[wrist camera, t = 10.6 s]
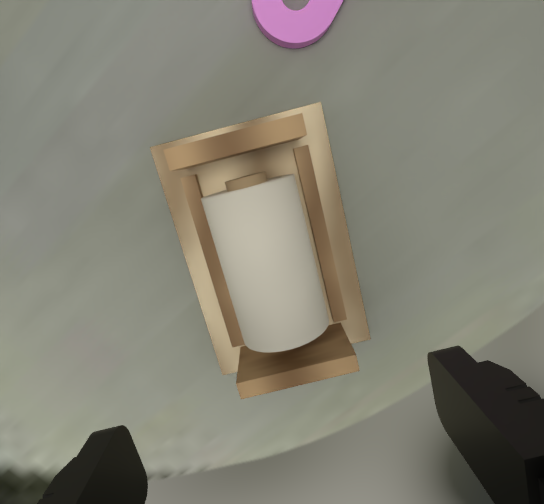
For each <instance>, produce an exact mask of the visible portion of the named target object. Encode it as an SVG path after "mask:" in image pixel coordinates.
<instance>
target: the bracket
mask: <svg viewBox="0 0 544 504" xmlns="http://www.w3.org/2000/svg"><path fill="white" fill-rule="evenodd" d="M342 2H343V0H309V2H308V4H307V5H306V6H305V7H304V8H303V9H301V10H297V11H294V10H290V9H289V8H287V7H286V6H285V5H284V3H283V1H282V0H252V9H253V14H254V18H255V20H256V23H257V25H258V27H259V28H260V30H261V31H262V33H263V34H264V35H265V36H266V37H267V38H268V39H269V40H271V41H272V42H274V43H275V44H277V45H279V46H282V47H286V48H302V47H306V46H308V45H311V44H313V43H314V42H316V41H317V40H319V39H320V38H321V37H322V36H323V35H324V34H325V32H326V31H327V30H328V28H329V26H330V25H331V23H332V21H333V19H334V17H335V15H336V13H337V12H338V10H339V8H340V6H341V4H342Z"/></svg>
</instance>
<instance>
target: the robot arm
mask: <svg viewBox="0 0 544 504" xmlns="http://www.w3.org/2000/svg"><path fill="white" fill-rule="evenodd" d="M428 365H429V371H430V376H431V382H432V387H433V393H434V399H435V404H436V409H437V412H438V415H439V418H440V420H441V423H442V425H443V427H444V429H445V430H446V432H447V434H448V435H449V437H450V438H451V440H452V441H453V443H454V444H455V446H456V447H457V449H458V450H459V452H460V453H461V455H462V456H463V457H464V459H465V461H466V462H467V464H468V465H469V466H470V468H471V470H472V471H473V472H474V474H475V475H476V477H477V478H478V480H479V481H480V483H481V484H482V486H483V487H484V489H485V490H486V492H487V493H488V495H489V496H490V498H491V499H492V501H493V502H494V504H544V399H541V397H540V395H538V393H536V392H535V391H534V390H533V389H532V388H531V387H527V385H526V383H525V382H524V381H522V380H521V379H520V378H519V377H518V376H516V375H515V374H514V373H513V372H512V371H511V370H509V369H507V368H504V367H502V366H500V365H498V364H495V363H493V362H491V361H488V360H487V361H483V362H479V363H477V362H476V361H475V360H474V359H473V358H472V357H471V356H470V355H469V354H468V353H467V352H466V351H465V350H464V349H463V348H461V347H460V346H454V347H450V348H446V349H442V350H437V351H433V352H429V353H428ZM147 489H148V483H147V476H146V472H145V469H144V467H143V464H142V462H141V459H140V457H139V454H138V452H137V449H136V447H135V444H134V442H133V440H132V437H131V435H130V432H129V430H128V429H127V428H126V427H125V426H123V425H121V426H117V427H112V428H108V429H104V430H100V431H96V432H93V433H92V434H91V435H90V436H89V438H88V440H87V441H86V443H85V444H84V446H83V448H82V449H81V451H80V452H79V454H78V455H77V457H74V458H73V459H72V460H71V461H70V462H69V463H68V464H67V465H66V466H65V467H64V468H63V469H62V470H61V471H60V472H59V473H58V474H57V475H56V476H55V477H54V479H53V480H52V482H51V484H50V485H49V487H48V488H47V490H46V491H45V493H44V494H43V499H40V500H39V502H38V503H37V504H145V500H146V497H147Z"/></svg>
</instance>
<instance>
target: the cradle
mask: <svg viewBox="0 0 544 504" xmlns="http://www.w3.org/2000/svg"><path fill="white" fill-rule="evenodd" d="M150 149H151V152H152V156H153V159H154V162H155V165H156V168H157V171H158V174H159V177H160V181H161V184H162V187H163V190H164V193H165V196H166V199H167V202H168V206H169V209H170V212H171V215H172V218H173V221H174V224H175V227H176V231H177V234H178V237H179V240H180V243H181V246H182V249H183V252H184V256H185V259H186V262H187V265H188V268H189V271H190V274H191V277H192V281H193V284H194V287H195V290H196V293H197V296H198V299H199V302H200V306H201V309H202V312H203V315H204V318H205V321H206V324H207V327H208V331H209V334H210V337H211V340H212V343H213V346H214V349H215V352H216V356H217V359H218V362H219V365H220V368H221V371H222V374H223V375H226V374H230V373H234V372H238V373H237V381H236V384H237V388H238V391H239V394H240V397H241V399H244V398H248V397H253V396H257V395H261V394H265V393H269V392H273V391H278V390H282V389H286V388H290V387H294V386H298V385H303V384H307V383H311V382H315V381H319V380H323V379H327V378H332V377H336V376H340V375H344V374H348V373H352V372H357V371H360V370H359V366H358V361H357V357H356V354H355V352H354V349H353V347H352V345H351V344H353V343H357V342H361V341H365V340H370V334H369V329H368V324H367V320H366V315H365V310H364V305H363V301H362V296H361V291H360V286H359V282H358V277H357V272H356V267H355V262H354V258H353V253H352V248H351V243H350V239H349V234H348V229H347V224H346V219H345V215H344V210H343V205H342V200H341V196H340V191H339V186H338V181H337V177H336V172H335V167H334V162H333V157H332V153H331V148H330V143H329V138H328V134H327V129H326V124H325V119H324V114H323V110H322V105H321V102H318V103H315V104H311V105H307V106H303V107H300V108H296V109H292V110H288V111H285V112H281V113H277V114H273V115H269V116H266V117H262V118H258V119H254V120H251V121H247V122H243V123H239V124H236V125H232V126H228V127H224V128H221V129H217V130H213V131H209V132H206V133H202V134H198V135H194V136H191V137H187V138H183V139H179V140H175V141H172V142H168V143H164V144H160V145H157V146H153V147H150ZM264 171H265V173H266V177H267V179H268V178H272V177H277V176H282V175H287V174H294V176H295V180H296V184H297V188H298V192H299V197H300V201H301V205H302V209H303V213H304V217H305V222H306V226H307V230H308V234H309V238H310V243H311V247H312V251H313V255H314V259H315V263H316V268H317V272H318V276H319V280H320V284H321V289H322V293H323V297H324V301H325V305H326V310H327V314H328V318H329V325H328V327H327V329H326V330H325V331H324V332H323V333H322V334H321V335H320V336H319V337H317V338H316V339H314V340H313V341H311V342H309V343H307V344H305V345H302V346H300V347H297V348H294V349H290V350H286V351H281V352H270V353H268V352H257V351H254V350H251V349H249V348H248V347H247V346H246V345H245V343H244V340H243V337H242V334H241V330H240V327H239V324H238V320H237V317H236V314H235V310H234V307H233V304H232V300H231V297H230V294H229V290H228V287H227V284H226V280H225V277H224V274H223V271H222V267H221V264H220V261H219V257H218V254H217V251H216V247H215V244H214V241H213V237H212V234H211V231H210V227H209V224H208V221H207V217H206V214H205V211H204V208H203V204H202V201H201V198H203V197H205V196H208V195H211V194H214V193H217V192H220V191H223V190H227V188H226V185H225V182H226V181H229V180H233V179H236V178H240V177H243V176H247V175H251V174H255V173H259V172H264Z"/></svg>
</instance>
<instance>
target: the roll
mask: <svg viewBox="0 0 544 504" xmlns="http://www.w3.org/2000/svg"><path fill="white" fill-rule="evenodd" d="M225 185H226V188H227V190H223V191H220V192H217V193H214V194H211V195H208V196H205V197H203V198H201V201H202V204H203V208H204V211H205V214H206V217H207V221H208V224H209V227H210V231H211V234H212V237H213V241H214V244H215V247H216V251H217V254H218V257H219V261H220V264H221V267H222V271H223V274H224V277H225V280H226V284H227V287H228V290H229V294H230V297H231V300H232V304H233V307H234V310H235V314H236V317H237V320H238V324H239V327H240V330H241V334H242V337H243V340H244V343H245V345H246V346H247V347H248V348H249V349H251V350H254V351H257V352H268V353H270V352H281V351H286V350H290V349H294V348H297V347H300V346H302V345H305V344H307V343H309V342H311V341H313V340H314V339H316V338H317V337H319V336H320V335H321V334H322V333H323V332H324V331H325V330H326V329H327V327H328V325H329V318H328V314H327V310H326V305H325V301H324V297H323V293H322V289H321V284H320V280H319V276H318V272H317V268H316V263H315V259H314V255H313V251H312V247H311V243H310V238H309V234H308V230H307V226H306V222H305V217H304V213H303V209H302V205H301V201H300V197H299V192H298V188H297V184H296V180H295V176H294V174H287V175H282V176H277V177H272V178H268V179H267V177H266V173H265V171H264V172H259V173H255V174H251V175H247V176H243V177H240V178H236V179H233V180H229V181H226V182H225Z"/></svg>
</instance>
